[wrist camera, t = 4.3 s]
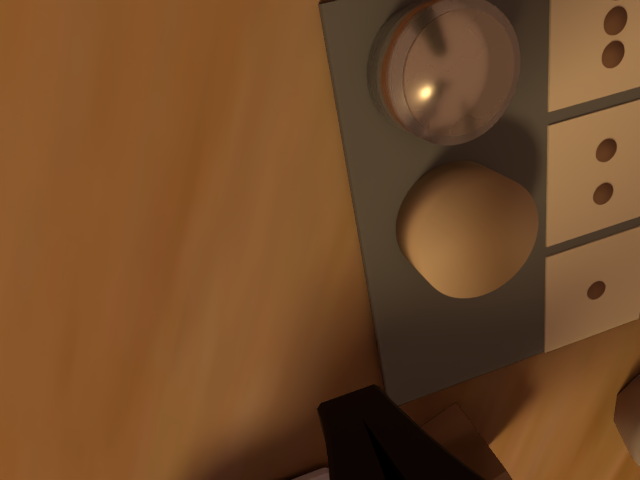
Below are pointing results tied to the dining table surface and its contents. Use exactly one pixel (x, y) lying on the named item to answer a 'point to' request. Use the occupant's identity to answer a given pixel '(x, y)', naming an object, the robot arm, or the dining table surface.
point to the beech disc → (466, 228)
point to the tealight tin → (444, 69)
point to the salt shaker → (629, 417)
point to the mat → (518, 165)
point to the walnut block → (465, 443)
